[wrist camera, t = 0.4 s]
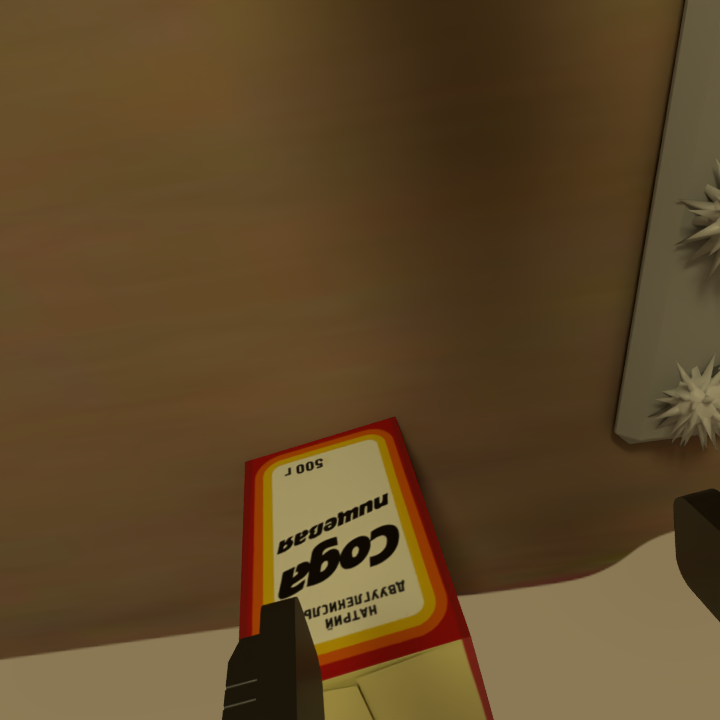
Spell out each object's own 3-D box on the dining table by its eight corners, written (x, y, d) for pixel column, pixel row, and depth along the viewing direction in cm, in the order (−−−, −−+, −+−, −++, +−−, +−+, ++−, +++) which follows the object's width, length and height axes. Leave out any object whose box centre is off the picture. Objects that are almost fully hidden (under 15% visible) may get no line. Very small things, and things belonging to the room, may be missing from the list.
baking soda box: (395, 416, 38) (473, 644, 24) (417, 495, 41) (498, 737, 27) (245, 462, 38) (236, 716, 24) (279, 537, 41) (289, 800, 27)
